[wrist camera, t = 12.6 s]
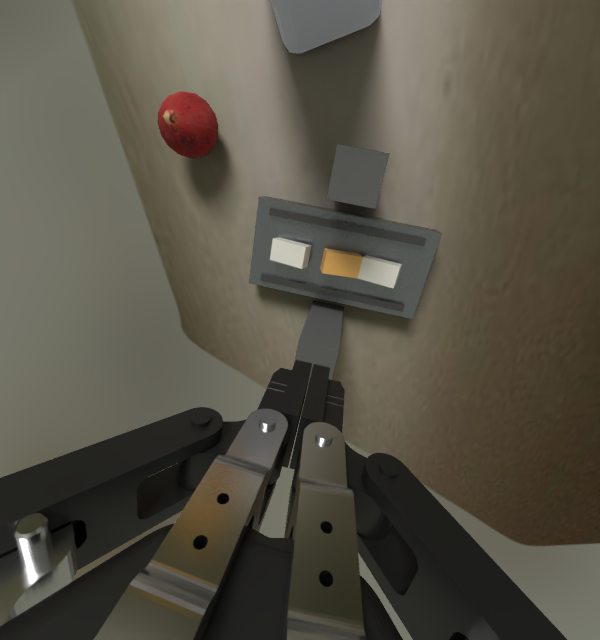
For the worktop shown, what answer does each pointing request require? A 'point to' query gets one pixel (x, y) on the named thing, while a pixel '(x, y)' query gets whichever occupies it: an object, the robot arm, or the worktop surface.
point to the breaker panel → (344, 235)
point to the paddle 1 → (290, 252)
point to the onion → (188, 124)
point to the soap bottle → (321, 20)
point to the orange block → (341, 263)
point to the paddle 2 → (379, 271)
